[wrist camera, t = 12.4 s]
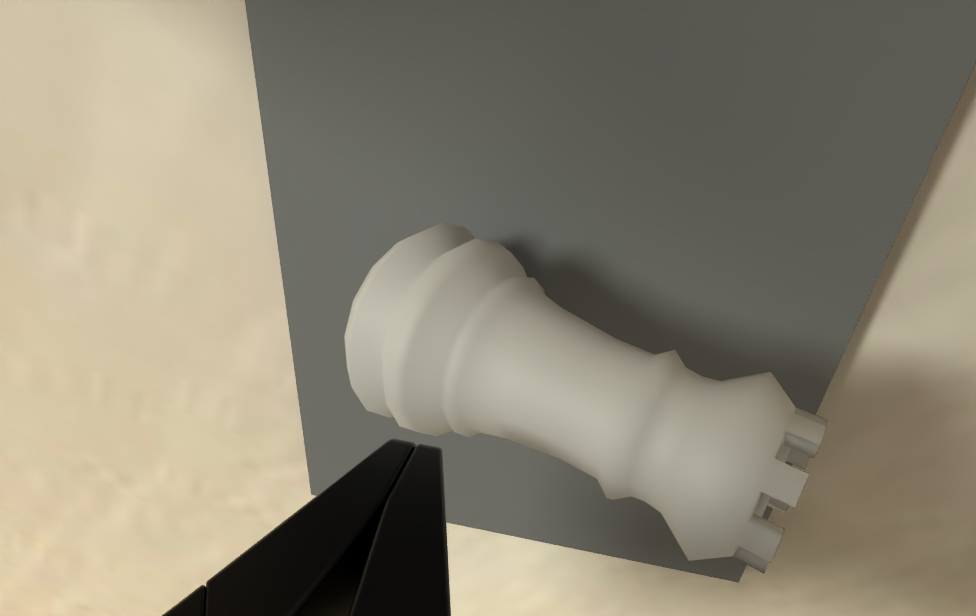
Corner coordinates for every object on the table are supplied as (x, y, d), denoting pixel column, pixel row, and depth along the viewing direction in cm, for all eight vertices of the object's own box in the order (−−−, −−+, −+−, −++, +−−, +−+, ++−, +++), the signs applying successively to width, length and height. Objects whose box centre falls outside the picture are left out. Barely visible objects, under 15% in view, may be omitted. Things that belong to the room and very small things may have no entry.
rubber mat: (237, -187, 11) (218, -196, 10) (1054, -157, 9) (1079, -165, 9) (319, 481, 20) (311, 494, 20) (735, 565, 18) (738, 582, 18)
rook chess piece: (492, 289, 15) (820, 421, 11) (395, 434, 14) (729, 643, 10) (429, 172, 12) (880, 305, 8) (289, 353, 10) (751, 631, 6)
